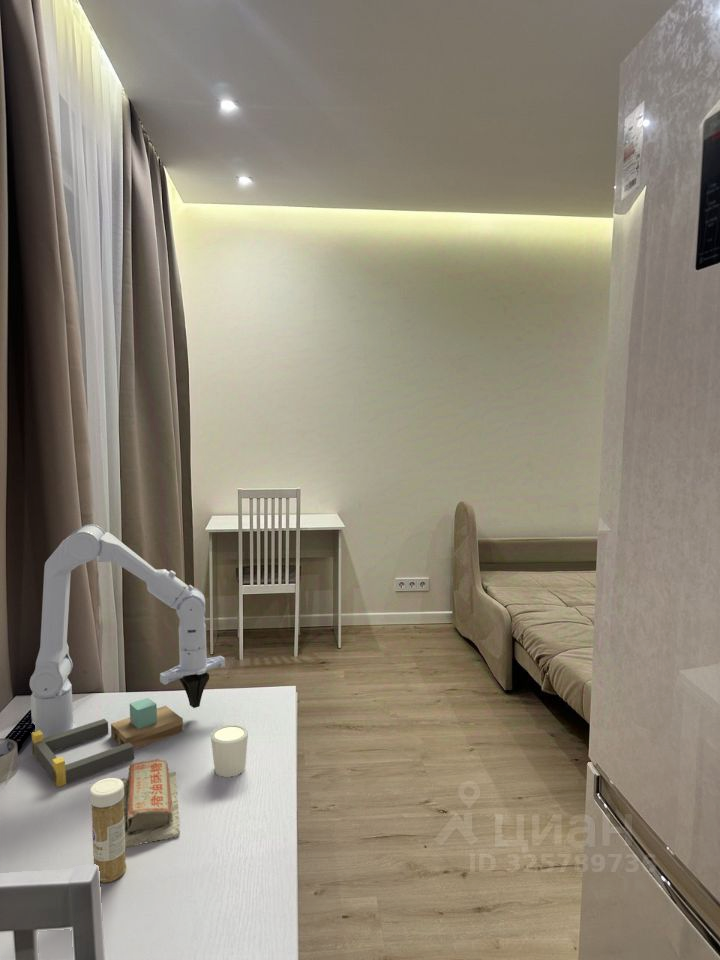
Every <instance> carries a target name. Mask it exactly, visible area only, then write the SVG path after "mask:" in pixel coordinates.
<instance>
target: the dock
mask: <svg viewBox="0 0 720 960" xmlns="http://www.w3.org/2000/svg"><path fill="white" fill-rule="evenodd" d="M108 734H109V721H108V720H107V719H105V718H102V719H100V720H99V719H98V720H96V721H92V722H90V723H87V724H84V725H80V726H78V727H77V728H74V729H71V730H68V731H64V732H61V733H58V734H55V735H52V736H49V737H46V738H43V733H42V732H41V731H40V730H38V731H35V732H32V733H31V745H32V747H31V749H32V756H34V757H35V759H36V761H37V762H38V763H39V764H40V766H41V767H42V769H43V770H44V771H45V773H46V774H47V776H48V777H49V778H50V781H52V782H53V784H54V785H55V787H57V788H59V787H62V786H65V785H67V784H70V783H73V782H75V781H78V780H80V779H84V778H86V777H89V776H92V775H94V774H96V773H99V772H103V771H104V770H107V769H110V768H113V767H115V766H118V765H122V764H123V763H126V762H130V761H131V760H134V759H135V755H134V754H135V751H134V750H135V749H134V746H133V745H132V744H130V743H126V744H123V745H118V746H115V747H112V748H110V749H108V750H104V751H101V752H99V753H96V754H92V755H90V756H88V757H87V756H86V757H85V758H81V759H79V760H75V761H73V762H69V763H67V764H66V760H65V759H64V757H63V756H59V757H57V756H56V754H54V753H56V752H58V751H61V750H64V749H67V748H69V747H73V746H75V745H78V744H82V743H84V742H87V741H90V740H93V739H96V738H99V737H102V736H105V735H108Z"/></svg>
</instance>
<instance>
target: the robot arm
mask: <svg viewBox="0 0 720 960" xmlns="http://www.w3.org/2000/svg"><path fill="white" fill-rule="evenodd" d="M96 557H98V560H97V563H107V562H108V563H109V562H110V563H111V562H112V563H115V564H117V565H118V566H120V567H121V568H123V569H125V570H126V571H127V572H129V573H131V574H132V575H134V576H135V577H137V578H139V579H140V580H142V581H143V582H145V583H146V589H147V592H148V593H150V594H151V595H152V596H154V597H155V598H156V599H158V600H159V601H161V602H162V603H164V604H165V605H167V606H168V607H169V608H171V609H173V610H176V611H175V612H176V616H177V617H178V619H179V625H178V646H179V647H178V652H179V654H178V655H179V664H178V665H176V666H174V667H173V668H170V669H168V670H166V671H163V672H160V673H159V681H160V683H161V684H162V685H163V686H164V685H168V684H170V683H171V682H173V681H176V680H179V681H180V683H181V685H182V686H183V689H184V691H185V693H186V697H187V700H188V702H189V706H190V707H191V708H193V709H196V708H199V707H200V705H201V702H202V701H201V700H202V697H203V693H204V690H205V688H206V686H207V683H208V682H209V680H210V673H208V672H207V671H210V670H214V669H216V668H219V667H220V668H224V667H226V659H225V657H224V656H222V655H217V656H213V657H207V627H206V626H207V625H206V616H205V614H206V598H205V596H204V594H203V593H202V591H201V590H200V589H199V588H196V587H194V586H193V585H191V584H189V585H188V584H186V583H185V582H183V580H181V579H180V578H178V577H177V576H176V574H177V573H176V571H174V570H172V569H171V570H170V571H169V570H167V569H165V568H162V569H156V568H155V567H153V566H152V565H151V564H150V563H148V562H147V561H146V560H145V559H143V558H142V557H141V556H139V554H137V553H136V552H134V550H132V548H130V547H128V546H127V545H125V543H123V542H122V541H121V540H119V538H117V537H116V536H114V534H112V533H110V532H108V531H106V532H105V531H104V529H103V528H102V527H101V526H99V525H97V524H85V525H83V526H81V527H80V528H78V529H77V530H75V531H73V532H72V533H71V534H70V535H68V537H66V538H65V539H63V540H62V541H61V542H60V544H59V545H58V546H57V548H56V549H55V550H54V551H53V553H51V555H50V556H49V557H48V558H47V560H46V561H45V563H44V568H43V570H44V571H43V586H42V587H43V588H42V589H43V590H42V605H41V606H42V608H41V609H42V611H41V627H40V647H39V651H38V654H37V658H36V660H35V668H34V671H33V673H32V675H31V676H30V679H29V688H30V690H31V692H32V693H31V695H30V712H31V713H30V714H31V724H32V723H33V724H34V725H35V731H38V730H40V731H41V732H42V733H43V738H46V737H49V736H52V735H55V734H58V733H61V732H64V731H68V730H71V729H74V728H77V727H79V725H78V724H77V723H75V722H74V710H73V690H72V687H73V685H72V683H71V682H70V680H69V678H68V677H69V675H70V674H71V673H72V671H73V666H74V663H73V661H72V658H71V656H70V653H69V652H70V651H69V650H70V648H69V645H68V629H69V628H68V627H69V625H68V624H69V612H70V609H69V608H70V592H71V574H72V571H73V570H75V569H76V568H78V566H81V565H84V564H87V563H89V562H91V561H93V560H94V559H96Z"/></svg>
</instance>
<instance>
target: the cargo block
mask: <svg viewBox="0 0 720 960" xmlns="http://www.w3.org/2000/svg"><path fill="white" fill-rule="evenodd" d="M157 708H158V707H157V702H156V703H155V702H154V701H153V699H151V698H149V697H146V698H143V699H139V700H137V701H133V702H130V703H129V718H130V722H131V723H132V724H133V725H134V726H135V727H136V728H138V729H140V728H143V727H146V726H149V725H152V724H154V723H157Z"/></svg>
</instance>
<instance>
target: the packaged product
mask: <svg viewBox="0 0 720 960" xmlns="http://www.w3.org/2000/svg"><path fill="white" fill-rule="evenodd" d="M168 767H169V766H168V761H166V760H163V759H159V758H156V759H150V760H145V761H144V760H143V761H139V762H133V763H132V762H131V763H130V764H129V767H128V775H127V776H128V778H121V779H120V780H121V781H122V782H123V784H124V796H123V810H124V823H125V848H127V847H126V846H129V847H132V846H131V845H135V844H140V843H145V842H150V843H153V842H152V841H155V842H158V841H157V840H160V841H163V839H164V840H169V839H168V838H171V839H173V838H172V837H175V838H177V837H176V836H179V837H180V836H181V833H180V832H181V829H180V827H181V826H180V812H179V800H178V799H179V797H178V785H177V773H176V771H171V772H169V768H168ZM145 844H146V843H145ZM140 845H141V844H140ZM135 846H136V845H135Z"/></svg>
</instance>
